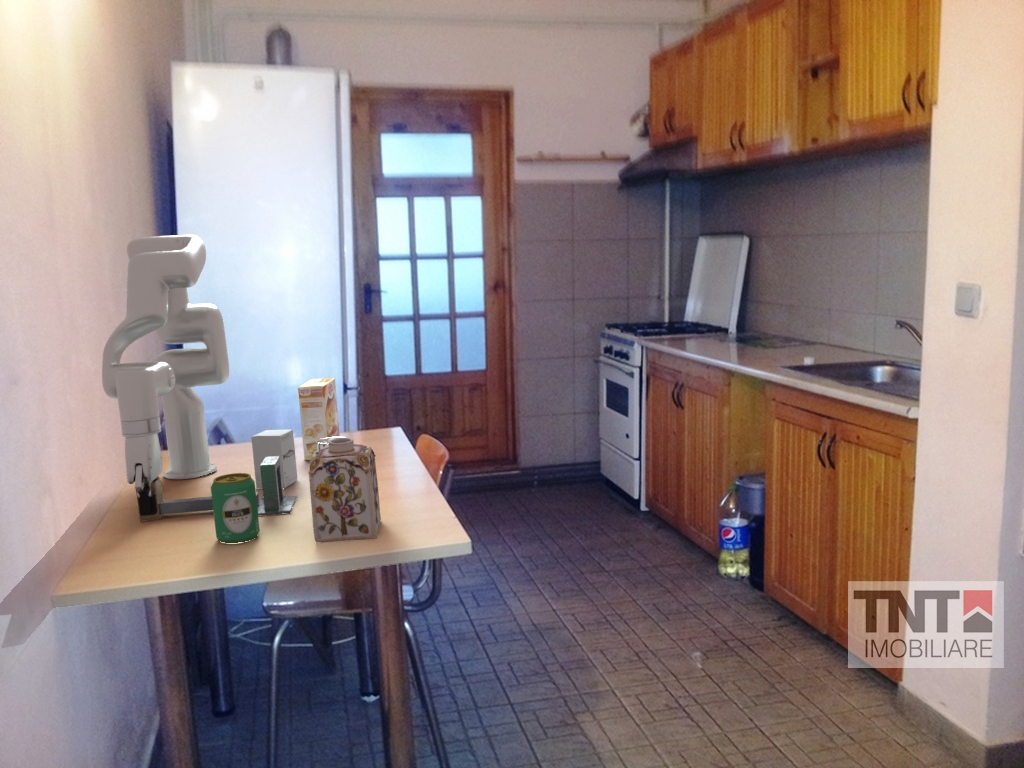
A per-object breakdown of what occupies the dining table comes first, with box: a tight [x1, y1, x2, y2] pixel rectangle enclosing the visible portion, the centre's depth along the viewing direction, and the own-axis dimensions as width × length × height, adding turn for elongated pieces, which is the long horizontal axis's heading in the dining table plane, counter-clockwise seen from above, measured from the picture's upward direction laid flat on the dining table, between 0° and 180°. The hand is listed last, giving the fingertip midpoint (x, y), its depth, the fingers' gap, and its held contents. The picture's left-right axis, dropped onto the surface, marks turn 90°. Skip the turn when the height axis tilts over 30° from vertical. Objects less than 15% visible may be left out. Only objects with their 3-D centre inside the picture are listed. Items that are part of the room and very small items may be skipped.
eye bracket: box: [257, 456, 298, 516], centre depth 190 cm, size 12×8×10 cm, turn 7°
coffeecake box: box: [297, 377, 341, 461], centre depth 238 cm, size 15×7×20 cm, turn 179°
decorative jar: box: [307, 437, 382, 543], centre depth 169 cm, size 12×12×18 cm
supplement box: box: [251, 429, 298, 489], centre depth 208 cm, size 7×7×13 cm
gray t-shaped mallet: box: [135, 477, 260, 522], centre depth 188 cm, size 4×24×8 cm, turn 97°
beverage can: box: [210, 472, 261, 543], centre depth 169 cm, size 8×8×12 cm
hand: (151, 510), depth 187 cm, fingers closed on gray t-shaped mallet, 4 cm apart
